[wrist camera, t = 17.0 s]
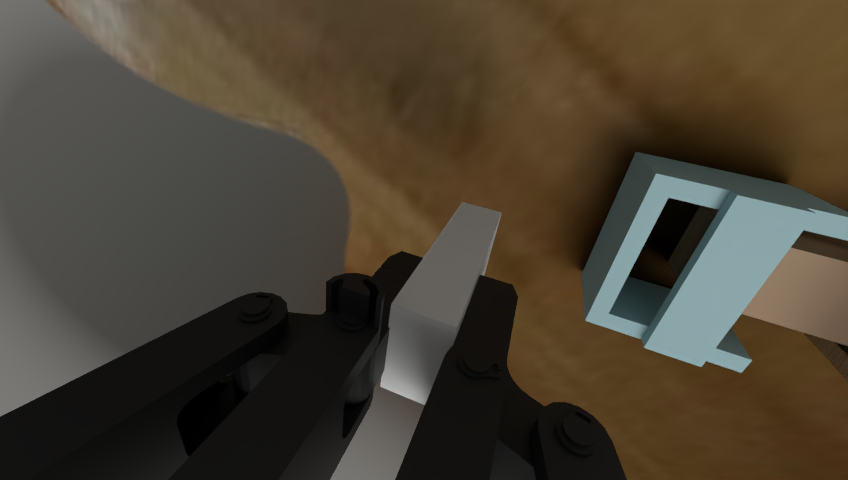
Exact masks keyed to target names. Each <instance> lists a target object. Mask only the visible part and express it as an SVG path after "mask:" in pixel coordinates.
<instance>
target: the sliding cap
mask: <svg viewBox="0 0 848 480" xmlns="http://www.w3.org/2000/svg"><path fill="white" fill-rule="evenodd" d="M668 198H672V199H676V200H680V201H685V202H689V203H693V204H697V205H701V206H705V207H710V208H714V209H718V210H719V211H718V213H717V214H716V216H715V218H714V219H713V221H712V223H711V224H710V226H709V228H708V229H707V231H706V233H705V234H704V236H703V238H702V239H701V241H700V243H699V244H698V246H697V248H696V249H695V251H694V253H693V254H692V256H691V258H690V259H689V261H688V263H687V264H686V266H685V268H684V269H683V271H682V273H681V274H680V276H679V278H678V279H677V281H676V283H675V284H674V286H673V288H672V289H669V288H666V287H663V286H659V285H656V284H652V283H649V282H646V281H642V280H639V279H636V278H632V277H629V276H628V275H629V273H630V271H631V269H632V267H633V265H634V263H635V262H636V260H637V258H638V256H639V254H640V252H641V250H642V248H643V246H644V244H645V242H646V240H647V238H648V236H649V234H650V233H651V231H652V229H653V227H654V225H655V223H656V221H657V219H658V217H659V215H660V213H661V211H662V209H663V207H664V205H665V204H666V202H667V200H668ZM803 230H805V231H809V232H813V233H817V234H822V235H826V236H830V237H834V238H838V239H842V240H846V241H848V212H846V211H844V210H842V209H840V208H838V207H836V206H834V205H832V204H830V203H828V202H826V201H824V200H821V199H819V198H817V197H815V196H813V195H811V194H809V193H807V192H805V191H803V190H801V189H799V188H797V187H795V186H792V185H787V184H783V183H778V182H773V181H769V180H764V179H760V178H755V177H750V176H746V175H741V174H737V173H732V172H727V171H723V170H718V169H714V168H709V167H704V166H700V165H695V164H691V163H686V162H681V161H677V160H672V159H668V158H663V157H658V156H654V155H649V154H645V153H640V152H635V154H634V157H633V159H632V161H631V164H630V166H629V168H628V170H627V173H626V175H625V177H624V179H623V182H622V184H621V186H620V188H619V191H618V193H617V195H616V198H615V200H614V202H613V204H612V207H611V209H610V211H609V213H608V216H607V218H606V220H605V222H604V225H603V227H602V229H601V232H600V234H599V236H598V238H597V241H596V243H595V245H594V247H593V250H592V252H591V254H590V256H589V259H588V261H587V263H586V266H585V268H584V270H583V272H582V275H581V276H582V289H583V301H584V313H585V321H588V322H591V323H594V324H597V325H600V326H603V327H606V328H609V329H612V330H615V331H618V332H621V333H624V334H627V335H630V336H633V337H636V338H639V339H641V340H642V343H643V347H644V348H646V349H649V350H652V351H655V352H658V353H661V354H664V355H667V356H670V357H673V358H676V359H679V360H682V361H685V362H688V363H691V364H694V365H697V366H700V367H702V366H703V364H704V363H705V362H706V361H708V362H711V363H714V364H717V365H720V366H723V367H726V368H729V369H732V370H735V371H738V372H741V373H742V372H743V371H744V369H745V368H746V367H747V366H748V365H749V363H750V362H751V361H752V359H751V358H750V356H749V355H748V353H747V352H746V350H745V349H744V347H743V346H742V344H741V342H740V341H739V339H738V338H737V336H736V335H735V333H734V332H733V330H732V329H731V327H732V326H733V324H734V323H735V322H736V320H737V319H738V318H739V316H740V315H741V313H742V312H743V311H744V309H745V308H746V307H747V305H748V304H749V303H750V301H751V300H752V299H753V297H754V296H755V295H756V293H757V292H758V291H759V289H760V288H761V287H762V285H763V284H764V283H765V281H766V280H767V279H768V277H769V276H770V275H771V273H772V272H773V271H774V269H775V268H776V267H777V265H778V264H779V263H780V261H781V260H782V259H783V257H784V256H785V254H786V253H787V252H788V250H789V249H790V248H791V246H792V245H793V244H794V242H795V241H796V240H797V238H798V237H799V236H800V234H801V233H802V232H803Z"/></svg>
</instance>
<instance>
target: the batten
mask: <svg viewBox="0 0 848 480" xmlns="http://www.w3.org/2000/svg"><path fill="white" fill-rule="evenodd" d="M718 211H719V210H718V209H714V208H710V207H705V206H701V205H700V207H699V208H698V210H697V212H696V214H695V215H694V217H693V219H692V220H691V222H690V224H689V226H688V227H687V229H686V231H685V233H684V234H683V236H682V238H681V240H680V241H679V243H678V245H677V247H676V248H675V250H674V252H673V253H672V255H671V257H670V259H669V260H668V263H669V265H670V266H671V268H672V270H673V272H674V274H675V275H676V277H677V279H678V278H679V276H680V274H681V273H682V271H683V269H684V268H685V266H686V264H687V263H688V261H689V259H690V258H691V256H692V254H693V253H694V251H695V249H696V248H697V246H698V244H699V243H700V241H701V239H702V238H703V236H704V234H705V233H706V231H707V229H708V228H709V226H710V224H711V223H712V221H713V219H714V218H715V216H716V214H717V213H718ZM741 314H744V315H747V316H751V317H754V318H757V319H761V320H764V321H767V322H770V323H774V324H777V325H780V326H784V327H787V328H790V329H793V330H797V331H800V332H803V333H807V334H810V335H813V336H817V337H820V338H823V339H826V340H830V341H833V342H836V343H840V344H843V345H846V346H848V241H846V240H842V239H838V238H834V237H830V236H826V235H822V234H817V233H813V232H809V231H805V230H803V232H802V233H801V234H800V236H799V237H798V238H797V240H796V241H795V242H794V244H793V245H792V246H791V248H790V249H789V250H788V252H787V253H786V254H785V256H784V257H783V259H782V260H781V261H780V263H779V264H778V265H777V267H776V268H775V269H774V271H773V272H772V273H771V275H770V276H769V277H768V279H767V280H766V281H765V283H764V284H763V285H762V287H761V288H760V289H759V291H758V292H757V293H756V295H755V296H754V297H753V299H752V300H751V301H750V303H749V304H748V305H747V307H746V308H745V309H744V311H743V312H742V313H741Z"/></svg>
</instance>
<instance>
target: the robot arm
mask: <svg viewBox="0 0 848 480" xmlns="http://www.w3.org/2000/svg"><path fill="white" fill-rule="evenodd" d="M501 214H502V213H501V212H497V211H494V210H490V209H486V208H483V207H479V206H475V205H472V204H468V203H464V202H462V203H461V205H460V206H459V207H458V209H457V210H456V212H455V213H454V215H453V216H452V218H451V219H450V220H449V222H448V223H447V225H446V226H445V228H444V229H443V230H442V232H441V233H440V235H439V236H438V238H437V239H436V240H435V242H434V243H433V245H432V246H431V248H430V249H429V250H428V252H427V253H426V255H425V256H424V258H422V257H419V256H415V255H412V254H409V253H406V252H403V251H401V252H399V253H397V254H395V255H392V256H390V257H389V258H388V259H387V260H386V261H385V262H384V263H383V264H382V266H381V268H379V269H378V270H377V271H376V272H375V274H374V275H373V276H372V277H370V276H368V275H364V274H359V273H345V274H342V275H338V276H335V277H333V278H331V279H330V280H328V281H327V282H326V311H325V312H324V314H321V315H311V314H300V313H291V312H288V310H287V303H286V302H285V301H284V300H283V299H282V298H281V297H280V296H277V295H275V294H273V293H263V292H258V293H251V294H247V295H244V296H241V297H238V298H236V299H234V300H232V301H230V302H228V303H226V304H224V305H222V306H220V307H218V308H216V309H214V310H212V311H210V312H208V313H206V314H204V315H202V316H200V317H198V318H196V319H194V320H192V321H190V322H188V323H186V324H184V325H182V326H180V327H178V328H176V329H174V330H172V331H170V332H168V333H166V334H164V335H162V336H160V337H158V338H157V339H155V340H152V341H150V342H148V343H146V344H144V345H142V346H140V347H138V348H136V349H134V350H132V351H130V352H128V353H126V354H124V355H123V356H121V357H118V358H117V359H114V360H112V361H110V362H109V363H106V364H104V365H103V366H101V367H98V368H96V369H94V370H92V371H91V372H89V373H87V374H85V375H83V376H81V377H79V378H77V379H75V380H73V381H71V382H69V383H67V384H65V385H63V386H61V387H59V388H57V389H55V390H53V391H51V392H49V393H47V394H45V395H43V396H41V397H39V398H37V399H35V400H33V401H31V402H29V403H27V404H25V405H23V406H21V407H19V408H17V409H15V410H13V411H11V412H9V413H7V414H5V415H3V416H1V417H0V480H330V478H331V476H332V474H333V473H334V471H335V469H336V467H337V465H338V464H339V462H340V460H341V458H342V456H343V454H344V453H345V451H346V449H347V447H348V445H349V443H350V442H351V440H352V438H353V436H354V434H355V433H356V431H357V429H358V427H359V425H360V423H361V422H362V420H363V418H364V416H365V414H366V413H367V411H368V409H369V407H370V405H371V402H372V398H373V391H374V387H375V386H376V384H377V382H378V380H379V379H380V377H381V375H382V379H381V386H380V387H382V388H385V389H387V390H389V391H392V392H395V393H397V394H399V395H402V396H404V397H407V398H409V399H411V400H414V401H416V402H419V403H421V404H423V405H425V406H424V409H423V412H422V414H421V417H420V419H419V422H418V424H417V427H416V429H415V432H414V434H413V437H412V439H411V442H410V444H409V447H408V449H407V452H406V454H405V457H404V459H403V462H402V464H401V467H400V470H399V472H398V474H397V477H396V479H395V480H627V479H626V477H625V474H624V471H623V469H622V466H621V463H620V461H619V458H618V455H617V453H616V450H615V447H614V445H613V442H612V440H611V439H610V437H609V435H608V433H607V431H606V430H605V428H604V427H603V426H602V425H601V424H600V423H599V422H598V421H597V419H596V418H595V417H594V416H592V415H591V414H589V413H588V412H586V411H585V410H583V409H582V408H580V407H578V406H575V405H572V404H569V403H566V402H553V403H551V404H549V405H547V406H545V407H544V406H543V405H542V404H540V403H539V402H537V401H536V400H534V399H533V398H531V397H530V396H529V395H527V394H526V393H525V392H524V391H522V390H521V389H520V388H519V387H518V385H517V384H516V383H515V382H514V381H513V379H512V377H511V375H510V374H509V371H508V367H507V355H508V350H509V344H510V338H511V333H512V327H513V322H514V321H513V320H514V316H515V310H516V305H517V299H518V296H517V294H516V291H515V289H514V287H513V285H512V284H508V283H505V282H502V281H499V280H496V279H492V278H489V277H486V276H484V274H485V270H486V267H487V263H488V260H489V256H490V252H491V249H492V245H493V242H494V238H495V235H496V231H497V228H498V224H499V221H500V217H501ZM230 373H231V374H230ZM227 375H228V376H227Z"/></svg>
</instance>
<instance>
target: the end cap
mask: <svg viewBox="0 0 848 480" xmlns="http://www.w3.org/2000/svg"><path fill="white" fill-rule="evenodd" d="M804 334H805V335H806V337H807V338H808V339H809V340H810V341H811V342H812V343H813V344H814V345H815V346H816V347H817V348H818V349H819V351H820V352H821V353H822V354H823V355H824V356H825V357H826V358H827V359H828V360H829V361H830V362H831V364H832V365H833V366H834V367H835V368H836V369H837V370H838V371H839V372H840V373H841V374H842V375H843V377H844V378H845V379H846V380H847V381H848V346H846V345H843V344H840V343H836V342H833V341H830V340H826V339H823V338H820V337H817V336H813V335H810V334H807V333H804Z"/></svg>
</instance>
